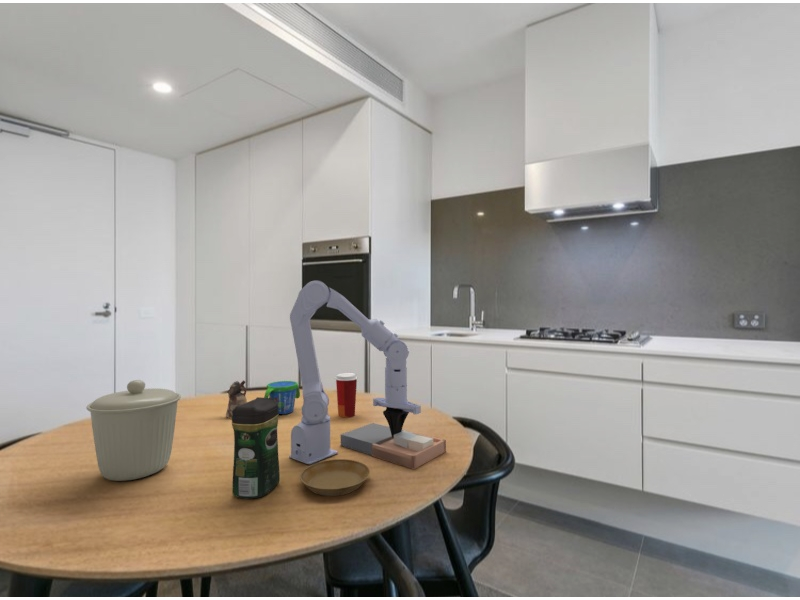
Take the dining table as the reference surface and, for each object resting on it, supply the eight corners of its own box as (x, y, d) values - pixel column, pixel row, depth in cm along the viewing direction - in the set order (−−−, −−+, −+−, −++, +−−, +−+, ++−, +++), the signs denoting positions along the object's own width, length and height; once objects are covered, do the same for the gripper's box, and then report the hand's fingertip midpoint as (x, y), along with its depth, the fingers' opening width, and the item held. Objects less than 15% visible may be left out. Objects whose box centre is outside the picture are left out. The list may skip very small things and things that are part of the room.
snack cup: (273, 420, 133) (273, 389, 133) (254, 415, 139) (254, 385, 139) (309, 409, 146) (309, 381, 146) (290, 405, 152) (290, 378, 152)
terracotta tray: (413, 469, 93) (413, 456, 93) (372, 456, 101) (372, 444, 101) (445, 451, 104) (445, 439, 104) (406, 441, 112) (405, 430, 112)
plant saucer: (384, 484, 85) (384, 472, 85) (325, 509, 75) (325, 495, 75) (343, 465, 96) (343, 454, 96) (287, 484, 86) (287, 472, 86)
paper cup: (359, 412, 141) (359, 372, 141) (355, 418, 134) (355, 376, 134) (338, 412, 142) (337, 372, 142) (332, 418, 134) (332, 376, 134)
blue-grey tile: (407, 448, 100) (407, 440, 100) (393, 443, 103) (393, 434, 102) (417, 443, 103) (418, 435, 103) (404, 438, 106) (404, 430, 106)
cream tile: (423, 452, 97) (423, 443, 97) (408, 448, 100) (408, 439, 100) (433, 447, 101) (433, 438, 101) (418, 443, 103) (418, 435, 103)
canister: (102, 462, 97) (102, 376, 98) (186, 452, 104) (186, 371, 104) (71, 496, 81) (72, 391, 81) (173, 481, 87) (173, 384, 87)
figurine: (227, 413, 141) (227, 379, 141) (248, 412, 143) (248, 378, 143) (224, 419, 134) (224, 383, 134) (247, 417, 136) (247, 382, 136)
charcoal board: (373, 455, 101) (373, 443, 101) (340, 445, 108) (340, 434, 109) (404, 441, 111) (404, 430, 111) (372, 433, 119) (372, 422, 119)
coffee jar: (252, 478, 89) (251, 394, 89) (285, 480, 87) (284, 395, 87) (224, 499, 79) (224, 404, 79) (260, 502, 77) (260, 406, 78)
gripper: (427, 385, 104) (427, 438, 103) (384, 379, 113) (385, 428, 112) (411, 390, 98) (411, 446, 98) (367, 383, 107) (367, 434, 107)
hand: (396, 437), depth 105 cm, fingers closed
